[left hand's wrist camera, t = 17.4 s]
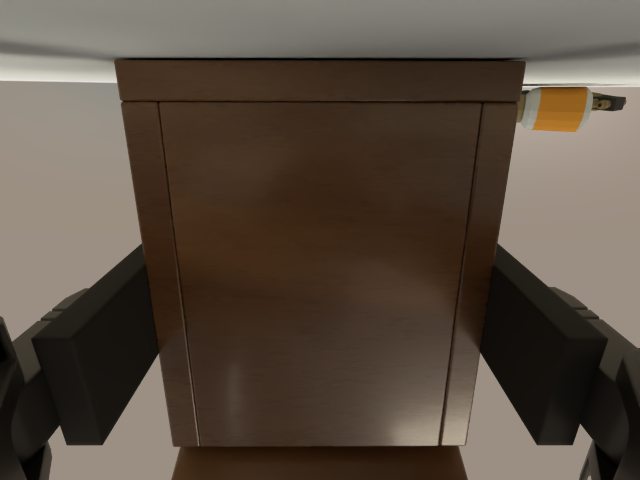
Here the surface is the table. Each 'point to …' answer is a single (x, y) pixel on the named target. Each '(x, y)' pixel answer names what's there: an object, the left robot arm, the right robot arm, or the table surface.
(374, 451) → the lid
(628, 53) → the table surface
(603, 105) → the spray gun
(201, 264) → the chest
